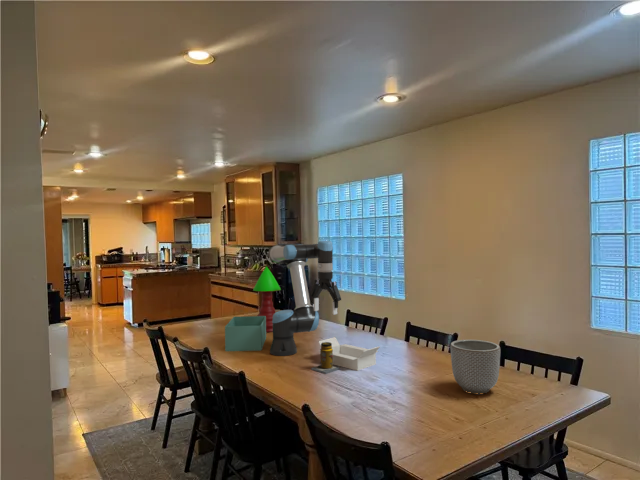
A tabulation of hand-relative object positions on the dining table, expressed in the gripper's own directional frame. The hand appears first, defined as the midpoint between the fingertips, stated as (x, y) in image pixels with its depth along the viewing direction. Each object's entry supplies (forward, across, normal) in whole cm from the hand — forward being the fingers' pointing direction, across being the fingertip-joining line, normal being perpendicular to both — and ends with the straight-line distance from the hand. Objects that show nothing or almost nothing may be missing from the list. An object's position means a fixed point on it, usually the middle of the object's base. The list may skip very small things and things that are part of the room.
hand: (325, 312), depth 228 cm
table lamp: (+29, -89, +30) cm, 99 cm away
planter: (+25, +74, +15) cm, 80 cm away
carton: (+26, +8, +8) cm, 29 cm away
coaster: (+26, +8, -8) cm, 28 cm away
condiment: (+25, +7, -8) cm, 28 cm away
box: (+28, -64, -5) cm, 71 cm away
